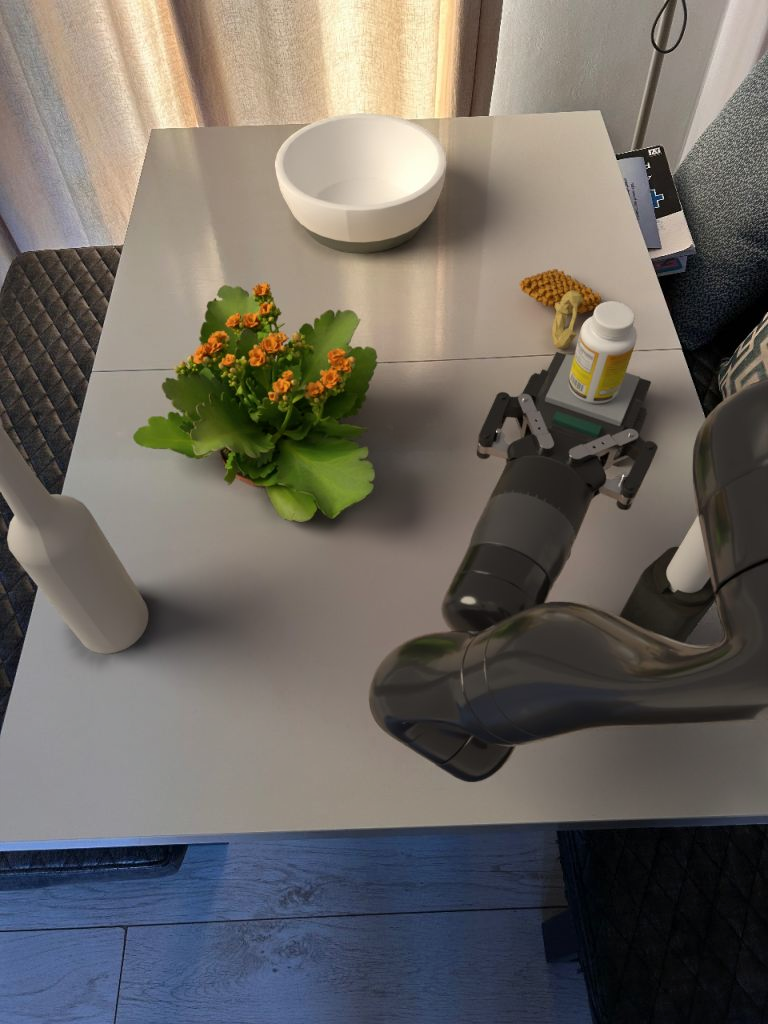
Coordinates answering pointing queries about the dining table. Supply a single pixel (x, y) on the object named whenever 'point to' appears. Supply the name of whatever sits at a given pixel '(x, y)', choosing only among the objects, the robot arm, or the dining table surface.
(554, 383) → the scale
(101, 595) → the bottle
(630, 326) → the supplement bottle
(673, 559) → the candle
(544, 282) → the ornament
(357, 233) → the bowl
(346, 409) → the potted flower
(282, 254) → the dining table surface
